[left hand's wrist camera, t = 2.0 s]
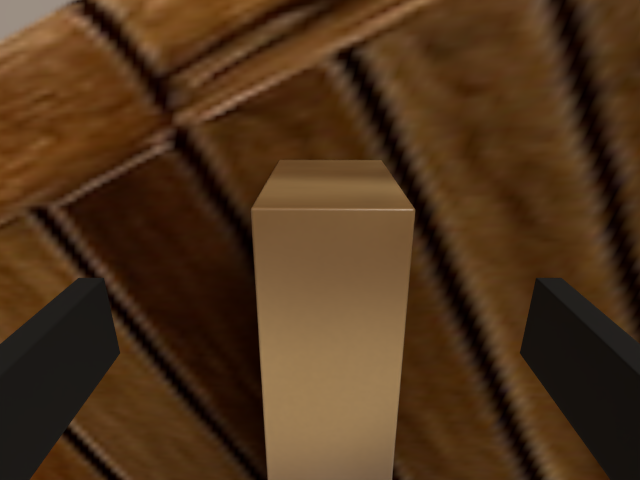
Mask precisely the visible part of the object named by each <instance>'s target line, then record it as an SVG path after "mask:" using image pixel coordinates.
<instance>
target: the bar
mask: <svg viewBox="0 0 640 480" xmlns="http://www.w3.org/2000/svg"><path fill="white" fill-rule="evenodd" d="M414 218H415V209H414V207H413V206H412V204H411V203H410V202H409V200H408V199H407V197H406V196H405V194H404V193H403V191H402V190H401V188H400V187H399V185H398V184H397V183H396V181H395V180H394V178H393V177H392V175H391V174H390V172H389V171H388V169H387V168H386V166H385V165H384V163H383V162H382V161H381V160H279V162H278V163H277V165H276V167H275V169H274V170H273V172H272V174H271V175H270V177H269V179H268V181H267V182H266V184H265V186H264V187H263V189H262V191H261V193H260V194H259V196H258V198H257V199H256V201H255V203H254V205H253V206H252V208H251V222H252V238H253V254H254V270H255V286H256V302H257V318H258V334H259V350H260V366H261V382H262V398H263V414H264V430H265V446H266V462H267V478H268V480H392V474H393V462H394V450H395V439H396V427H397V416H398V404H399V392H400V381H401V369H402V358H403V346H404V334H405V323H406V311H407V300H408V288H409V276H410V265H411V253H412V241H413V230H414Z"/></svg>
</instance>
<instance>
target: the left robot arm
mask: <svg viewBox="0 0 640 480" xmlns="http://www.w3.org/2000/svg"><path fill="white" fill-rule="evenodd" d="M119 354H120V351H119V346H118V341H117V337H116V332H115V327H114V323H113V318H112V314H111V309H110V304H109V300H108V295H107V290H106V286H105V281H104V278H78V279H77V280H76V281H74V282H73V283H72V284H71V285H70V286H69V287H67V288H66V289H65V290H64V291H63V292H61V293H60V294H59V295H58V296H57V297H56V298H54V299H53V300H52V301H51V302H50V303H48V304H47V305H46V306H45V307H44V308H42V309H41V310H40V311H39V312H38V313H37V314H35V315H34V316H33V317H32V318H31V319H29V320H28V321H27V322H26V323H25V324H24V325H22V326H21V327H20V328H19V329H18V330H16V331H15V332H14V333H13V334H12V335H11V336H9V337H8V338H7V339H6V340H5V341H3V342H2V343H1V344H0V480H30V478H31V477H32V475H33V474H34V473H35V471H36V470H37V468H38V467H39V466H40V464H41V463H42V461H43V460H44V459H45V457H46V456H47V454H48V453H49V452H50V450H51V449H52V447H53V446H54V445H55V443H56V442H57V440H58V439H59V438H60V436H61V435H62V433H63V432H64V431H65V429H66V428H67V427H68V425H69V424H70V422H71V421H72V420H73V418H74V417H75V415H76V414H77V413H78V411H79V410H80V408H81V407H82V406H83V404H84V403H85V401H86V400H87V399H88V397H89V396H90V394H91V393H92V392H93V390H94V389H95V387H96V386H97V385H98V383H99V382H100V380H101V379H102V378H103V376H104V375H105V373H106V372H107V371H108V369H109V368H110V366H111V365H112V364H113V362H114V361H115V360H116V358H117V357H118V355H119ZM520 354H521V355H522V357H523V358H524V360H525V361H526V362H527V364H528V365H529V366H530V368H531V369H532V371H533V372H534V373H535V375H536V376H537V378H538V379H539V380H540V382H541V383H542V385H543V386H544V387H545V389H546V390H547V392H548V393H549V394H550V396H551V397H552V399H553V400H554V401H555V403H556V404H557V406H558V407H559V408H560V410H561V411H562V413H563V414H564V415H565V417H566V418H567V420H568V421H569V422H570V424H571V425H572V427H573V428H574V429H575V431H576V432H577V433H578V435H579V436H580V438H581V439H582V440H583V442H584V443H585V445H586V446H587V447H588V449H589V450H590V452H591V453H592V454H593V456H594V457H595V459H596V460H597V461H598V463H599V464H600V466H601V467H602V468H603V470H604V471H605V473H606V474H607V475H608V477H609V478H610V480H640V344H639V343H638V342H637V341H635V340H634V339H633V338H632V337H631V336H629V335H628V334H627V333H626V332H625V331H624V330H622V329H621V328H620V327H619V326H618V325H616V324H615V323H614V322H613V321H612V320H611V319H609V318H608V317H607V316H606V315H605V314H603V313H602V312H601V311H600V310H599V309H598V308H596V307H595V306H594V305H593V304H592V303H590V302H589V301H588V300H587V299H586V298H584V297H583V296H582V295H581V294H580V293H579V292H577V291H576V290H575V289H574V288H573V287H571V286H570V285H569V284H568V283H567V282H566V281H564V280H563V279H562V278H536V281H535V286H534V290H533V295H532V300H531V304H530V309H529V314H528V318H527V323H526V327H525V332H524V337H523V341H522V346H521V351H520Z"/></svg>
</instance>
